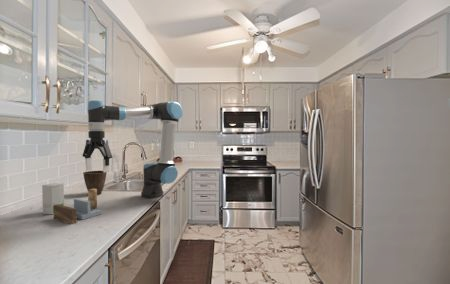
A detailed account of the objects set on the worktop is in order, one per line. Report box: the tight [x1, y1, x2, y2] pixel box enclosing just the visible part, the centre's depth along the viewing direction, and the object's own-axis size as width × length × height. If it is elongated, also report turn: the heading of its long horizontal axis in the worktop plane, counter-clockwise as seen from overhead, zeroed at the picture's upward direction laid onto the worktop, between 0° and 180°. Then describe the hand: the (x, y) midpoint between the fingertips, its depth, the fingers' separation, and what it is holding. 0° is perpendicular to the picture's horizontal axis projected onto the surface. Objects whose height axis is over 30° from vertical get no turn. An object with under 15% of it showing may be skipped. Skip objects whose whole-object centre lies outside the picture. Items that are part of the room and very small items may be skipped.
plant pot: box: [82, 170, 108, 196], centre depth 182 cm, size 15×15×16 cm
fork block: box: [73, 198, 102, 220], centre depth 135 cm, size 10×12×8 cm
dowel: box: [87, 189, 98, 211], centre depth 148 cm, size 4×4×11 cm
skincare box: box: [41, 182, 65, 215], centre depth 140 cm, size 8×7×16 cm
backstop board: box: [53, 204, 77, 225], centre depth 126 cm, size 2×16×7 cm, turn 61°
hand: (97, 171), depth 134 cm, fingers open, 13 cm apart
